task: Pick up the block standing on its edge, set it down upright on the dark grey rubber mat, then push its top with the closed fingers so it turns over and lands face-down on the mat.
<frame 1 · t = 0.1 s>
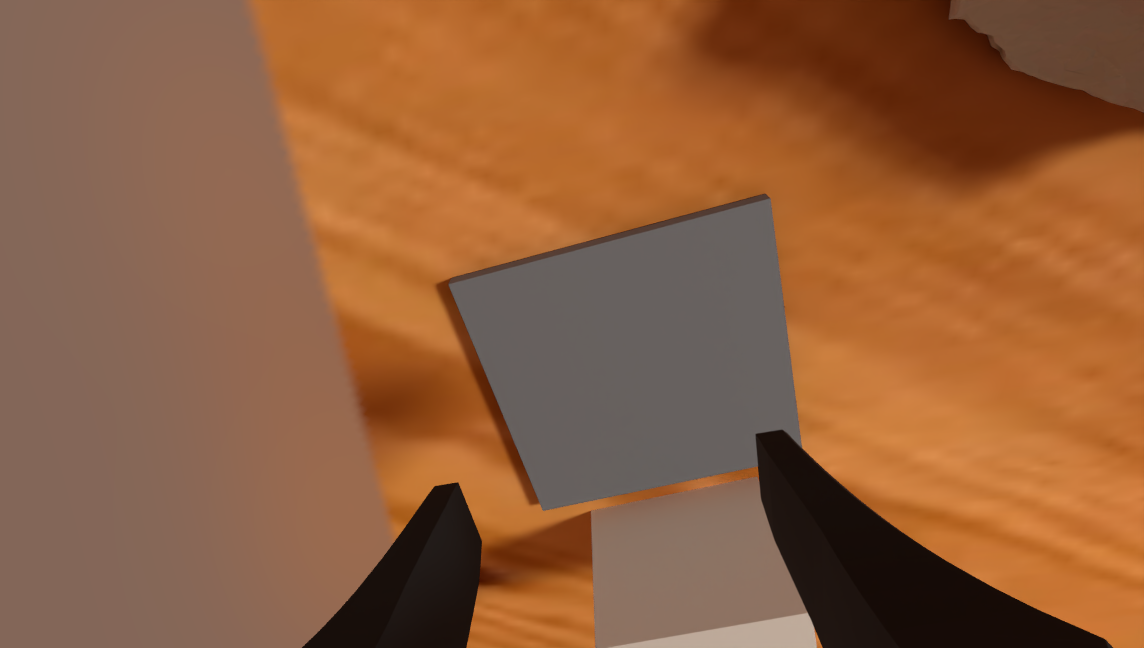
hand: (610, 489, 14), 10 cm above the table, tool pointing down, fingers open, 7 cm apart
mat: (638, 369, 24), on the table
block: (677, 512, 28), on the table
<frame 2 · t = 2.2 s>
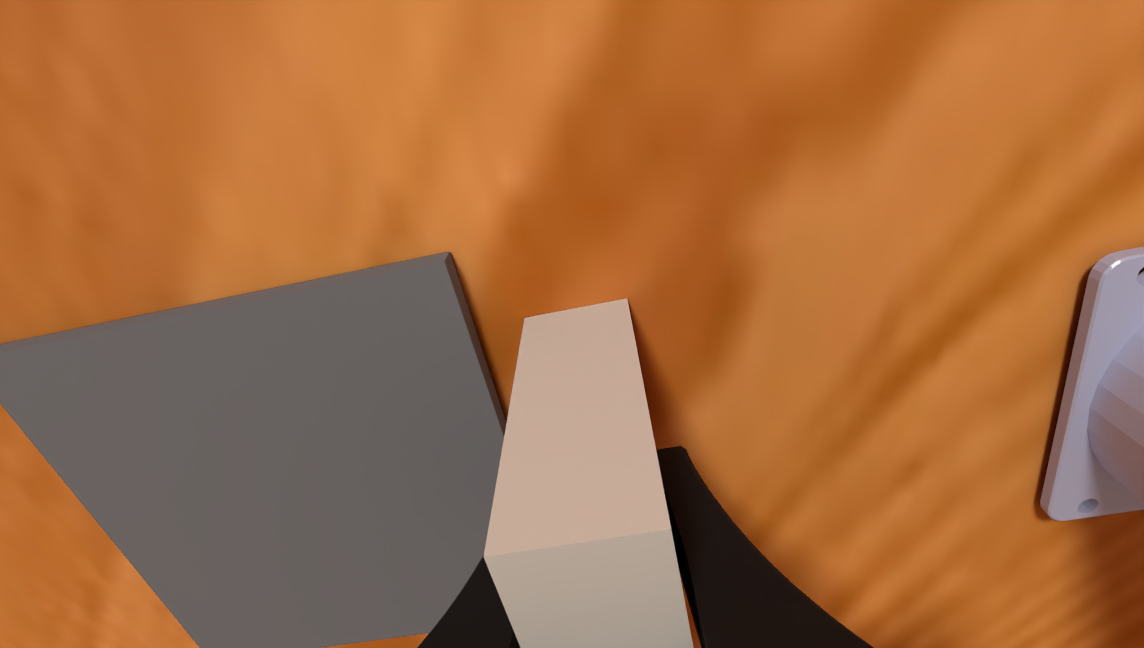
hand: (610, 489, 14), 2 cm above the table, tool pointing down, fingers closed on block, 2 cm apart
mat: (312, 488, 16), on the table
block: (606, 438, 16), on the table, touching gripper
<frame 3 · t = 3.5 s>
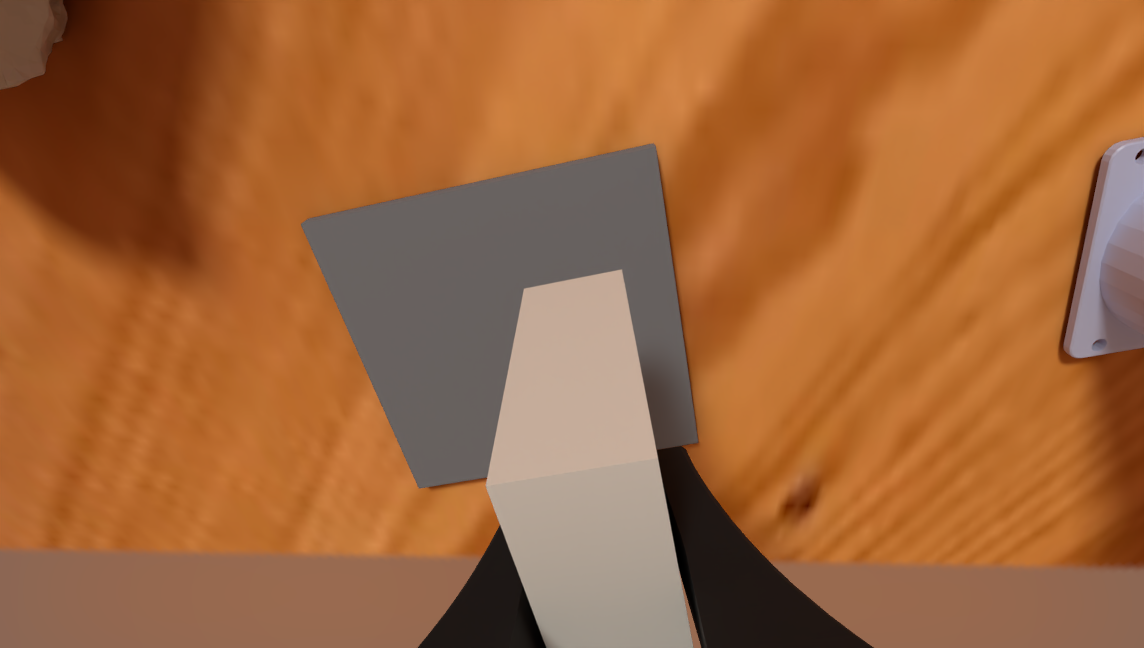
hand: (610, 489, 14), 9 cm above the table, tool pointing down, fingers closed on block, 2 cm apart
mat: (520, 336, 22), on the table
block: (602, 407, 16), point 6 cm above the table, touching gripper
when the fingers open (3 cm above the table, at t = 4.7 s): block stays where it is, resting on mat.
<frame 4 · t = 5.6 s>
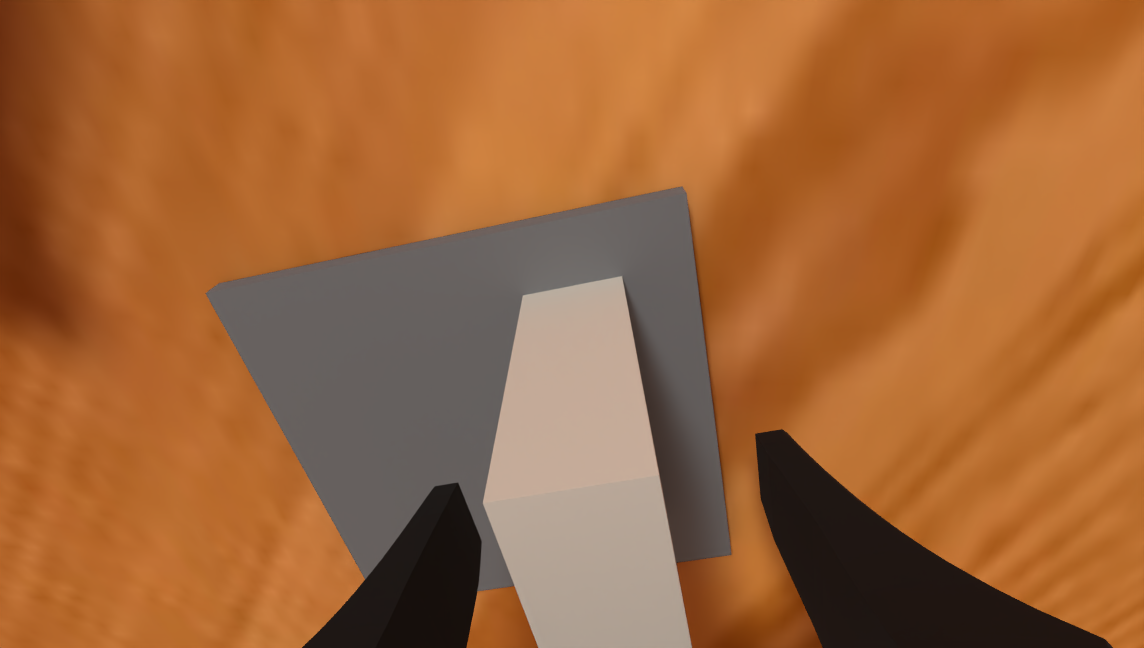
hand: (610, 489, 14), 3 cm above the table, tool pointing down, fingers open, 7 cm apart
mat: (504, 427, 17), on the table
block: (602, 415, 16), point 1 cm above the table, touching mat
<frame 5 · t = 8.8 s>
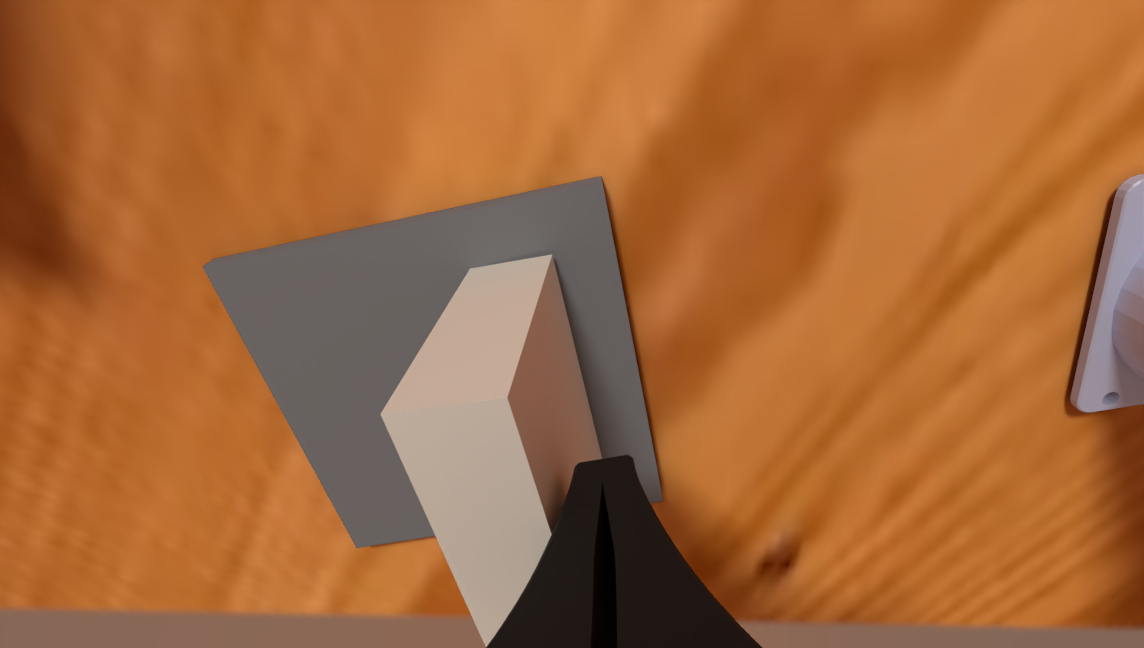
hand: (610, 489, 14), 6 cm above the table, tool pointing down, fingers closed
mat: (461, 386, 20), on the table
block: (542, 375, 19), point 1 cm above the table, touching gripper, mat
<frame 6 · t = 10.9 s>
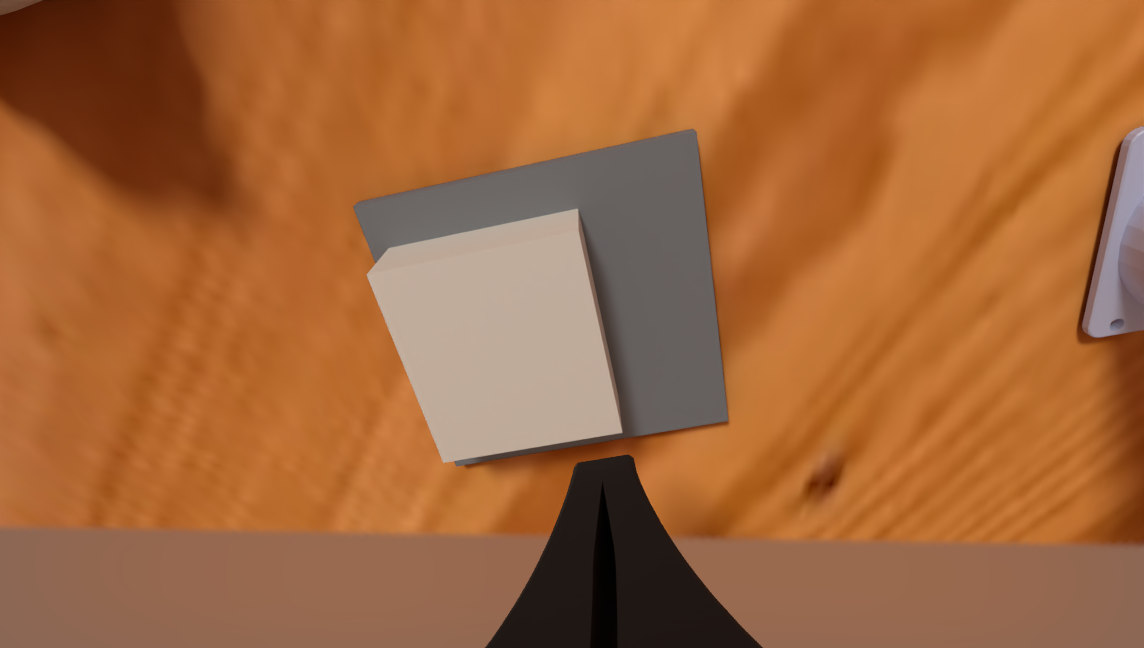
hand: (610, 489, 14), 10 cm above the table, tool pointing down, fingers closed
mat: (558, 316, 23), on the table
block: (601, 324, 21), point 2 cm above the table, tilted 90°, touching mat
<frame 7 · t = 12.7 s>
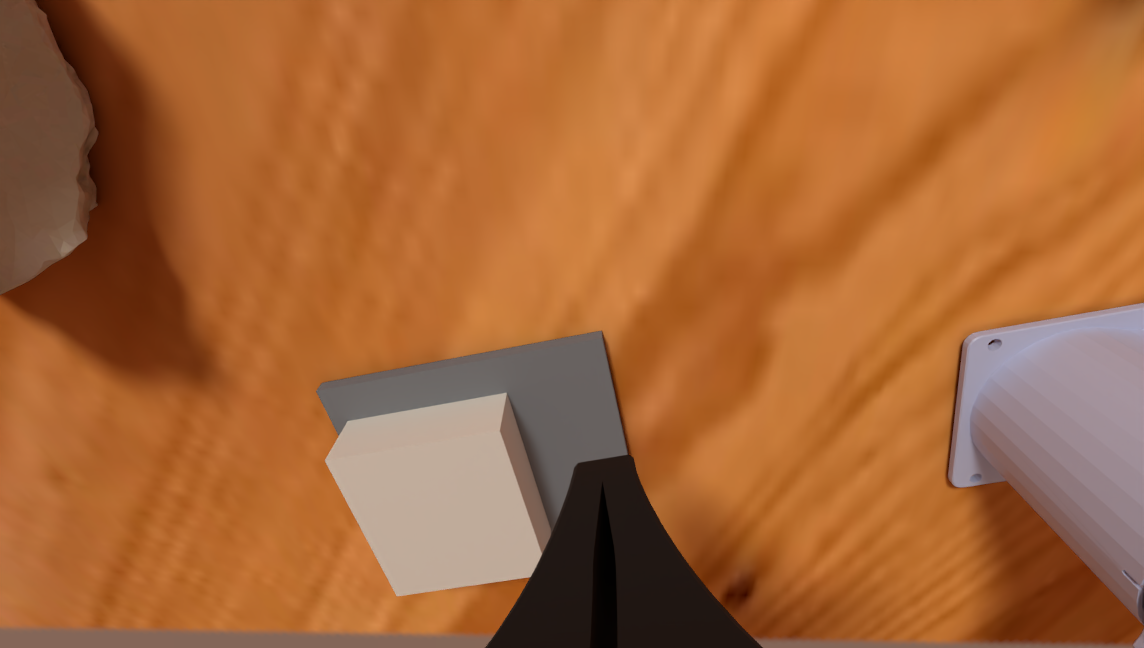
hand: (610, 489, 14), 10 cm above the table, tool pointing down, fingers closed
mat: (497, 467, 26), on the table
block: (528, 486, 24), point 2 cm above the table, tilted 90°, touching mat
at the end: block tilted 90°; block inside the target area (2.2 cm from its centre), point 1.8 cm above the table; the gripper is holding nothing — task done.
